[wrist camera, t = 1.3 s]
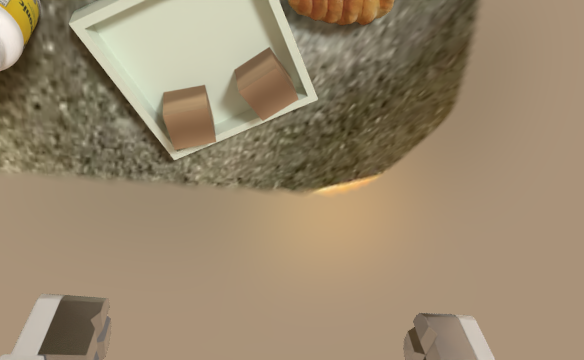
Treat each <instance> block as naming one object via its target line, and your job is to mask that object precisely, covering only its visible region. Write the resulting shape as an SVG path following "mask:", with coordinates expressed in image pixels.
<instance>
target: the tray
mask: <svg viewBox="0 0 584 360" xmlns="http://www.w3.org/2000/svg"><path fill="white" fill-rule="evenodd" d="M69 25H70V26H71V28H72V29H73V30H74V31H75V33H76V34H77V35H78V37H79V38H80V39H81V40H82V42H83V43H84V44H85V46H86V47H87V48H88V49H89V51H90V52H91V53H92V55H93V56H94V57H95V59H96V60H97V61H98V62H99V64H100V65H101V66H102V68H103V69H104V70H105V71H106V73H107V74H108V75H109V77H110V78H111V79H112V80H113V82H114V83H115V84H116V86H117V87H118V88H119V89H120V91H121V92H122V93H123V95H124V96H125V97H126V98H127V100H128V101H129V102H130V104H131V105H132V106H133V107H134V109H135V110H136V111H137V113H138V114H139V115H140V116H141V118H142V119H143V120H144V122H145V123H146V124H147V125H148V127H149V128H150V129H151V131H152V132H153V133H154V134H155V136H156V137H157V138H158V140H159V141H160V142H161V143H162V145H163V146H164V147H165V149H166V150H167V151H168V153H169V154H170V155H171V156H172V158H173V159H174V160H176V159H179V158H181V157H183V156H186V155H188V154H190V153H193V152H195V151H198V150H200V149H202V148H205V147H207V146H209V145H212V144H214V143H216V142H219V141H221V140H224V139H226V138H228V137H231V136H233V135H235V134H238V133H240V132H242V131H245V130H247V129H249V128H252V127H254V126H257V125H259V124H261V123H264V122H266V121H268V120H271V119H273V118H275V117H278V116H280V115H283V114H285V113H287V112H290V111H292V110H294V109H297V108H299V107H301V106H304V105H306V104H309V103H311V102H313V101H316V100H318V98H317V96H316V93H315V90H314V88H313V85H312V83H311V80H310V78H309V75H308V73H307V70H306V68H305V65H304V63H303V60H302V57H301V55H300V52H299V50H298V47H297V45H296V42H295V40H294V37H293V35H292V32H291V30H290V27H289V24H288V22H287V19H286V17H285V14H284V12H283V9H282V7H281V4H280V2H279V0H97V1H95V2H93V3H90V4H88V5H86V6H84V7H82V8H80V9H78V10H76V11H74V12H73V15H72V17H71V20H70V22H69ZM268 47H270V48H271V50H272V51H273V53H274V54H275V56H276V57H277V58H278V60H279V61H280V63H281V64H282V66H283V67H284V68H285V70H286V71H287V73H288V74H289V76H290V77H291V80H292V82H293V85H294V88H295V91H296V93H297V96H298V100H297V101H295V102H293V103H292V104H290V105H289V106H287V107H285V108H284V109H282V110H280V111H279V112H277V113H275V114H274V115H272V116H270V117H269V118H267V119H266V120H264V121H262V120H261V118H260V117H259V116H258V115H257V113H256V112H255V111H254V110H253V109H252V107H251V106H250V105H249V104H248V103H247V101H246V100H245V99H244V98H243V97H242V95H241V94H240V93H239V91H238V86H237V81H236V75H235V69H236V68H238V67H239V66H241V65H242V64H244V63H245V62H247V61H248V60H250V59H252V58H253V57H255V56H256V55H258V54H259V53H261V52H262V51H264V50H265V49H267V48H268ZM201 85H205V87H206V91H207V95H208V98H209V102H210V106H211V110H212V114H213V118H214V126H215V135H216V142H214V143H209V144H204V145H199V146H193V147H188V148H183V149H178V150H175V149H174V146H173V143H172V141H171V138H170V135H169V132H168V129H167V127H166V124H165V121H164V118H163V94H164V92H168V91H173V90H179V89H185V88H190V87H196V86H201Z"/></svg>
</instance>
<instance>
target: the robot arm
mask: <svg viewBox="0 0 584 360" xmlns="http://www.w3.org/2000/svg"><path fill="white" fill-rule="evenodd" d="M108 311H109V299H108V298H96V297H83V296H70V295H53V294H42V295H41V296H40V297H39V298H38V299H37V301H36V303H35V305H34V307H33V309H32V311H31V313H30V315H29V317H28V319H27V321H26V323H25V326H24V327H23V330H22V332H21V334H20V336H19V338H18V340H17V342H16V344H15V346H14V348H13V351H12V353H11V354H4V355H2V356H1V357H0V360H102V359H104V358H105V357H106V354H107V350H108V346H109V341H110V335H111V319H110V318H109V317H108V316H107V314H108ZM413 323H414V325H415V327H414V328H413V329H411V330H409V331H408V332H407V334H406V337H405V339H404V348H403V349H404V357H405V360H495V358H494V356H493V355H492V352H491V350H490V348H489V346H488V344H487V342H486V340H485V338H484V336H483V334H482V332H481V330H480V328H479V327H478V324H477V322H476V320H475V319H474V318H473V317H472V316H469V315H452V314H430V313H429V314H428V313H419V314H418V315H416V317H415V319H414V321H413Z"/></svg>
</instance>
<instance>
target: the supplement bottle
mask: <svg viewBox="0 0 584 360" xmlns="http://www.w3.org/2000/svg"><path fill="white" fill-rule="evenodd" d="M40 13H41V4H40V0H0V71H2V70H5V69H7V68H9V67H10V66H12V65H13V64H14V63H15V62H16V61H17V60H18V59H19V57H20V56H21V54H22V52H23V50H24V48H25V46H26V44H27V42H28V40H29V38H30V36H31V34H32V32H33V30H34V28H35V26H36V24H37V22H38V20H39V17H40Z"/></svg>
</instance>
